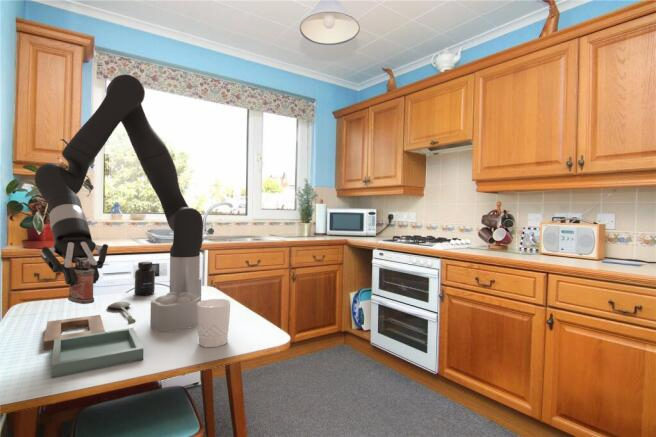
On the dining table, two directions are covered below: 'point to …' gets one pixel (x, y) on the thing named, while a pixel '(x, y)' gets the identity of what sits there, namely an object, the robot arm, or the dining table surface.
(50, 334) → the holder
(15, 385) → the dining table surface
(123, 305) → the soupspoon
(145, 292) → the supplement bottle
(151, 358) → the dining table surface
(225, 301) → the white cup
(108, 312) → the dining table surface
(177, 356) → the dining table surface
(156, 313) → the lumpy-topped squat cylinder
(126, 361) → the tray
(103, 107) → the robot arm
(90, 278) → the lighter
